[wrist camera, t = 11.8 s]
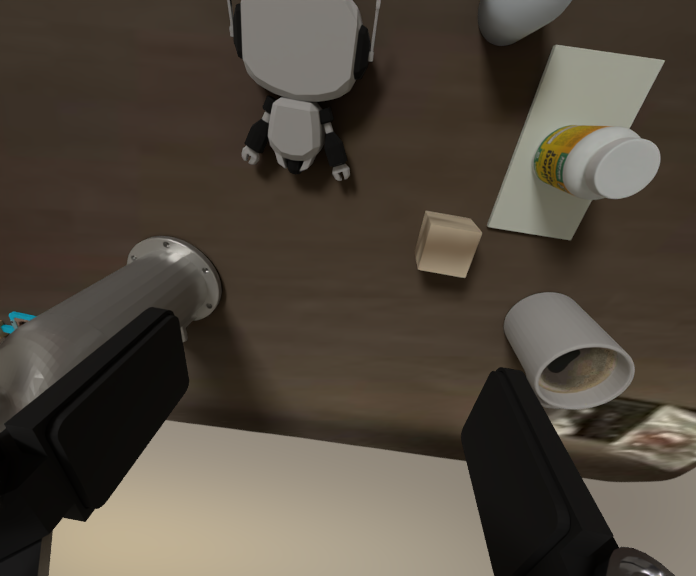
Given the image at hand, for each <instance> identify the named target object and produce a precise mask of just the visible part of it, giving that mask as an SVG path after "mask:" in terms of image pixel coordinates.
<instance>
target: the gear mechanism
mask: <svg viewBox="0 0 696 576" xmlns="http://www.w3.org/2000/svg"><path fill="white" fill-rule="evenodd" d="M9 317H10V319H11V320H10V321H11V323H12V326H9V325H4V324H3V322H2V320H0V338H3V337H4V336H6V335H8V333H10V334H11V333H12V332H13V331H14V330H15V329H17V328H18V327H20V326H21V325H23V324H22V322H23V321H24V322H28V321H30V320H31V319H33V318H35V317H37V316H33V315H28V314H23V313H18V312H12V313H10V314H9Z"/></svg>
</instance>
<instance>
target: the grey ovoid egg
mask: <svg viewBox="0 0 696 576" xmlns="http://www.w3.org/2000/svg"><path fill="white" fill-rule="evenodd" d="M571 1H572V0H480V3H479V8H478V25H479V29H480V31H481V33H482V35H483V37H484V38H485V39H486V40H487V41H488V42H490V43H491V44H493V45H497V46H507V45H511V44H513V43H515V42H517V41H519V40H521V39H522V38H524V37H526V36H527V35H529V34H531V33H533V32H534V31H536V30H538V29H540V28H541V27H543V26H545V25H547V24H548V23H550V22H551V21H553V20H554V19H556V18H557V17H558V16H559V15H560V14H561V13H562V12H563V11H564V10H565V9H566V8H567V6H568V5H569V4H570V2H571Z"/></svg>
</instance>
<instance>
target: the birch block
mask: <svg viewBox="0 0 696 576" xmlns="http://www.w3.org/2000/svg"><path fill="white" fill-rule="evenodd" d="M481 235H482V232H481V231H480V230H479V228H478V227H477V226H476V225H475V223H474V222H473V221H472V220H471V219H470V218H465V217H459V216H453V215H448V214H442V213H436V212H430V211H425V215H424V219H423V223H422V226H421V230H420V234H419V237H418V241H417V245H416V248H415V257H416V262H417V267H418V270H423V271H428V272H434V273H439V274H445V275H451V276H456V277H462V278H465V277H466V275H467V272H468V269H469V267H470V264H471V262H472V259H473V256H474V254H475V251H476V248H477V246H478V243H479V240H480V238H481Z"/></svg>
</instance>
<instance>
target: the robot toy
mask: <svg viewBox="0 0 696 576" xmlns="http://www.w3.org/2000/svg"><path fill="white" fill-rule="evenodd" d="M227 1H228V9H229V16H230V23H231V26H230V27H229V28H230V35H231V36H232V37H234V44H235V47H236V50H237V54H238V57H240V58H241V59H243V61H244V64H245V67H246V70H247V73H248V74H249V75H250V76H251V77H252V78H253V79H254V81H255V82H256V83H257V84H259V85H260V86H262V87H263V88H265V89H267V90H269V91H271V92H273V93H275V94H277V95H280V96H283V97H281V98H279V99H278V100H276V99H275V98H273V97H272V96H267V98H266V100H265V103H264V105H263V109H264V110H265V113H264V115H263V118H262V119H260V120H259V121H258V122H256V123H255V124H254V125H252V127H251V129H250V131H249V134H248V136H247V138H246V141H245V143H244V144H245V145H247V146H246V147H244V148H243V151H242V158H243V159H244V160H245V161H246V160H248V157H249V155H250V156H251V159H250V161H249V162H248V163H250V164H256V163H257V162H258V161H259V153H263V151H264V149H265V146H266V144H267V142H268V140H269V142H270V146H271V147H272V148H273V150H274V151H275V154H276V158H277V161H278V163H279V164H280V165H281V166H283V167H284V168H287V167H288V170H289V172H290V173H292V174H300V173H301V172H302V170H305V169H307V168H309V167H310V166H311V165H312V164H313V161H314V159H315V157H316V155H317V153H319V152H320V151H321V149H322V147H323V145H324V142H325V146H324V149H325V152H326V155H327V158H328V162H329V165H330V166H333V171H332V174H333V176H334V178H335V179H336V180H338V181H341V180H342V178H341V175H340V172H342V171H343V175H344V179H347V178H348V177H349V176H350V168H349V167H348V166H347V165H346V164H345V163H344V162H346V161H347V157H346V153H345V149H344V146H343V142H342V141H341V140H340V139H339V137H338V136H337V135H336V134H335V133H334V131H333V128H332V125H331V122H332V121H333V119H334V118H333V115H332V111H331V108H330V107H328V108H325V109H322V108H321V107H320V106H319V104H318V103H317V102H319V101H326V100H332V99H336V98H339V97H341V96H343V95H344V94H346V93H348V92H349V91H350V90H351V88H352V86H353V85H354V83H355V81H356V80H358V79H361V78H362V76H363V75H364V73H365V71H366V69H367V67H368V61H371V62H372V61H373V56H374V51H373V48H374V41H375V34H376V27H377V19H378V12H379V8H380V2H381V0H377V3H376V14H375V22H374V29H373V36H372V44H371V43H370V37H369V32H368V29H367V28H366V27H365V26H363V24H362V19H361V15H360V11H359V9H358V7H357V6H356V4H355V3H354V2H353V0H241V3H240V4H237V5H236V8H235V13H234V17H233V11H232V3H231V0H227ZM370 48H371V51H370ZM325 132H326V137H325Z"/></svg>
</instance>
